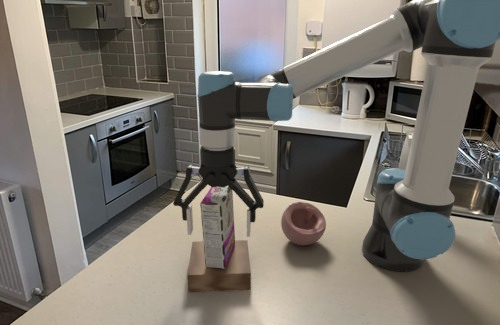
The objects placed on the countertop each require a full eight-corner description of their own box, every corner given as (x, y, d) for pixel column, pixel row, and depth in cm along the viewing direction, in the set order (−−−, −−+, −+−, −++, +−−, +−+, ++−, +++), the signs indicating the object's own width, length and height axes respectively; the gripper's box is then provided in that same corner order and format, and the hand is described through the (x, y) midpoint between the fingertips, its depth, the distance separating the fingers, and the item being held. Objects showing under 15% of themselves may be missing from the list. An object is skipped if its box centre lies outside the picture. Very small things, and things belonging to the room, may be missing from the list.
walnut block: (247, 257, 99) (247, 240, 98) (250, 291, 86) (250, 273, 85) (193, 258, 99) (192, 241, 97) (188, 293, 85) (187, 275, 84)
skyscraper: (405, 221, 118) (419, 134, 109) (386, 210, 125) (398, 127, 116) (425, 216, 121) (440, 131, 112) (405, 206, 128) (418, 125, 119)
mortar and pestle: (296, 258, 98) (298, 218, 94) (272, 237, 108) (273, 200, 104) (333, 247, 103) (336, 209, 99) (307, 227, 113) (309, 192, 110)
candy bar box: (216, 242, 97) (213, 182, 91) (235, 244, 96) (233, 183, 90) (203, 268, 86) (199, 202, 81) (225, 270, 85) (222, 203, 80)
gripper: (275, 141, 85) (272, 226, 92) (164, 139, 86) (170, 223, 93) (276, 152, 78) (273, 243, 85) (155, 149, 79) (162, 239, 86)
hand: (219, 233), depth 89 cm, fingers open, 13 cm apart
